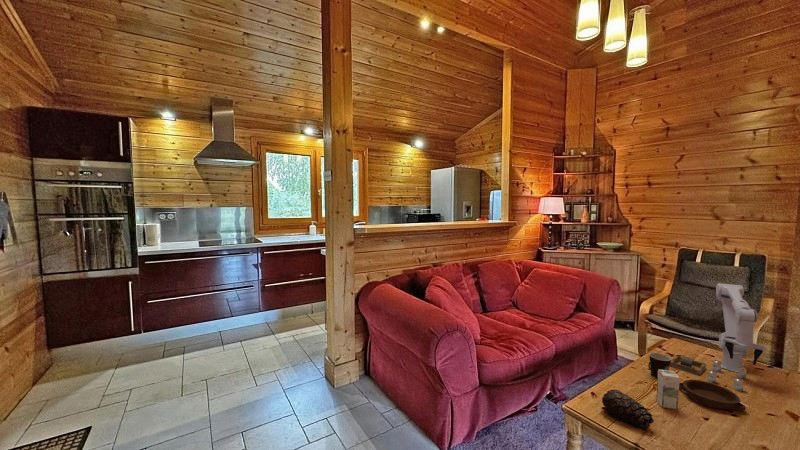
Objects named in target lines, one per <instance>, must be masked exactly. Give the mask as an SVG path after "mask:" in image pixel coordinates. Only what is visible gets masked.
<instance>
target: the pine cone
mask: <svg viewBox="0 0 800 450" xmlns="http://www.w3.org/2000/svg"><path fill="white" fill-rule="evenodd" d="M601 402H602V405H603V407H605V409H604V412H605V414H606V415H608V416H609V417H611V418H612V419H615V420H617V421H619V422H621V423H623V424H625V425H628V426H630V427H633V428H634V429H637V430H640V431H641V432H646V433H648V430H649V427H650V426H651V424H653V423H654V422H655V420H654V419H653V414H652V413H651V412H650V411H648V409H647V408H646V407H645V406H644V405H643V404H641V403H640V402H638V401H636V400H635V398H632V397H630V396H629V395H628V394H626V393H623V392H622V391H620V390H618V389H614V388H613V389H609V390H607V392H606V393H604V394H603V397H602V398H601Z"/></svg>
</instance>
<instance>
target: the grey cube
mask: <svg viewBox="0 0 800 450" xmlns="http://www.w3.org/2000/svg"><path fill="white" fill-rule="evenodd" d="M681 357H682V358H681V362H680V363H679V364H680V365H683V366H687V367H690V368H693V369H695V366H694V361H695V358H692V357H689V356H685V355H682V356H681Z"/></svg>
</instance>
